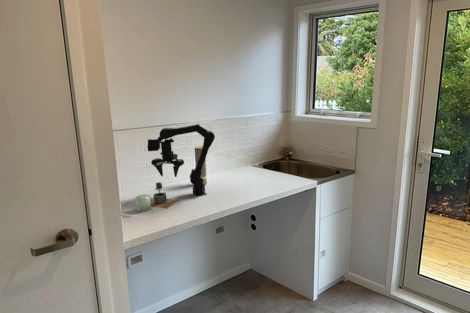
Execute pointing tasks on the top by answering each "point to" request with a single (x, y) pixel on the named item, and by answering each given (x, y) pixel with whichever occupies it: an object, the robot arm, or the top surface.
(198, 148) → the paper tube
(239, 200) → the top surface
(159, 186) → the plunger
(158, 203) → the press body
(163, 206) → the walnut board
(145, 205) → the sage mug
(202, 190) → the robot arm
